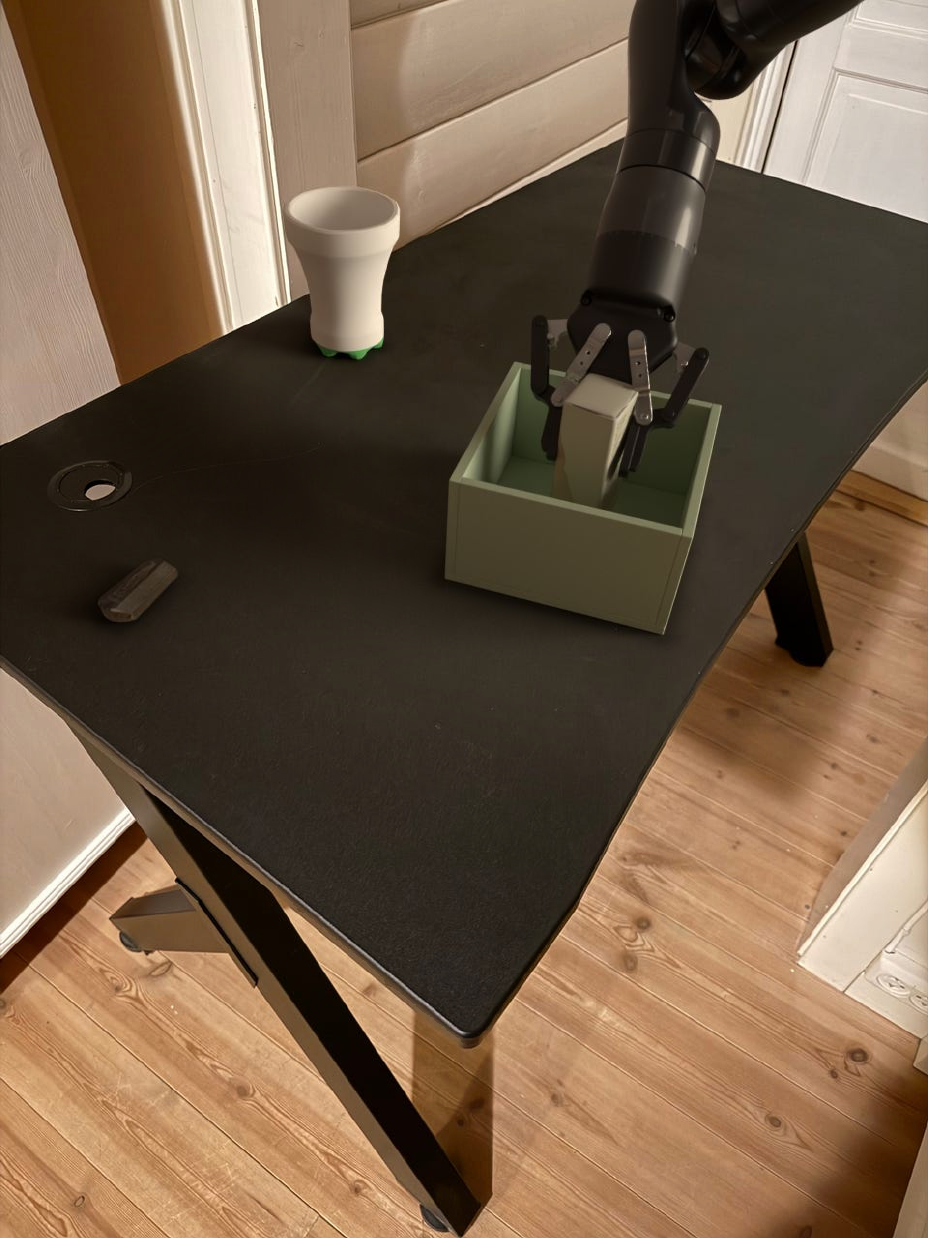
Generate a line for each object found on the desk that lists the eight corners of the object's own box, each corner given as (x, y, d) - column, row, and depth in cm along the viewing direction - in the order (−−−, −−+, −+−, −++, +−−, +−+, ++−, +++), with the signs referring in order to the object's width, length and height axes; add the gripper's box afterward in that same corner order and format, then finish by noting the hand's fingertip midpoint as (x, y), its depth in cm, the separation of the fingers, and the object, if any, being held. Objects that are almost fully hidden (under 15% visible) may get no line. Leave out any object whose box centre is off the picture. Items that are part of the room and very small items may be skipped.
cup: (421, 340, 98) (424, 206, 87) (353, 383, 91) (347, 243, 81) (342, 307, 102) (336, 175, 92) (272, 345, 95) (257, 208, 85)
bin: (694, 499, 81) (722, 404, 74) (663, 635, 69) (692, 538, 62) (504, 456, 84) (514, 361, 77) (444, 579, 72) (448, 480, 65)
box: (572, 484, 77) (591, 367, 69) (619, 501, 75) (644, 385, 67) (545, 517, 73) (561, 399, 65) (593, 536, 72) (616, 418, 64)
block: (182, 582, 70) (178, 564, 69) (129, 631, 67) (124, 614, 65) (146, 566, 71) (141, 548, 70) (91, 613, 68) (85, 596, 66)
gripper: (547, 210, 66) (489, 437, 67) (745, 245, 63) (683, 481, 64) (556, 251, 73) (503, 456, 74) (733, 284, 71) (677, 496, 71)
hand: (587, 466), depth 69 cm, fingers closed on box, 5 cm apart
